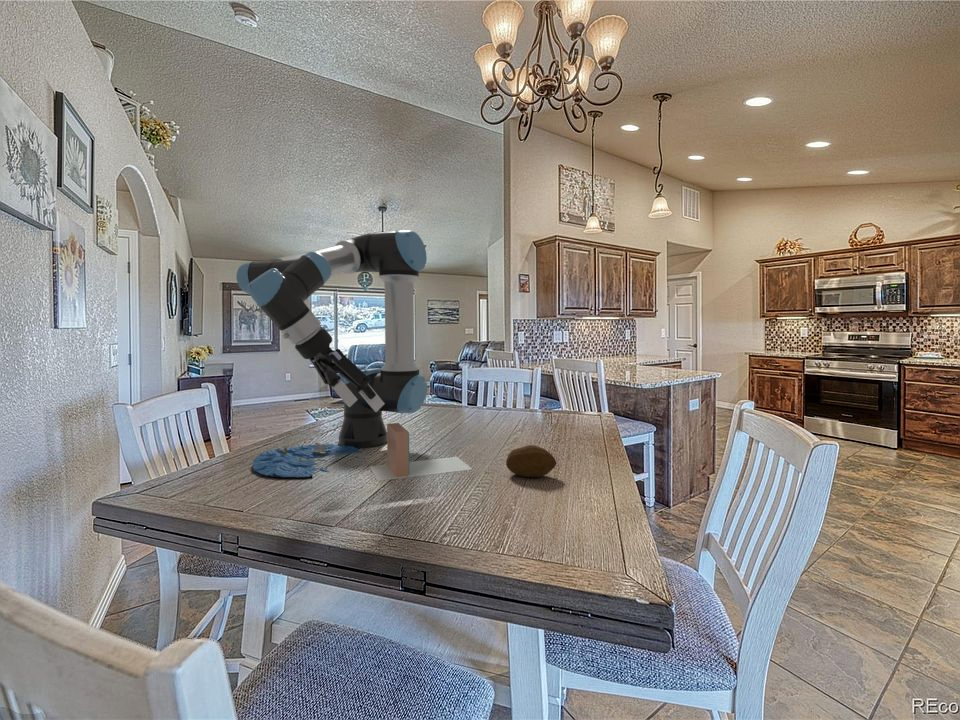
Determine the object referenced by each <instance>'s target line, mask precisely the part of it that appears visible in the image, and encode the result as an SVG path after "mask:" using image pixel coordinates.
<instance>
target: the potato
mask: <svg viewBox="0 0 960 720" xmlns="http://www.w3.org/2000/svg"><path fill="white" fill-rule="evenodd" d="M505 465H506V467H507V469H508V470H509V471H510V472H511V473H513V475H516V476H519V477H525V478H541V477H543V476H545V475H548V474H549V473H550V472H551V471H553V469H555V467H556V465H557V461H556V457H555V456H553V454H552V453H550V452H549V451H548V450H547V449H545V448H543V447H540V446H539V445H538V446H537V445H533V444H530V445H525V446H522V447H518V448H514V449H513V450H510V451H509V453H508V454H507V458H506V460H505Z"/></svg>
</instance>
